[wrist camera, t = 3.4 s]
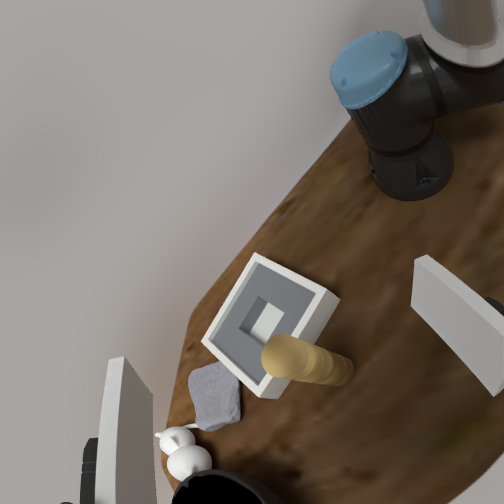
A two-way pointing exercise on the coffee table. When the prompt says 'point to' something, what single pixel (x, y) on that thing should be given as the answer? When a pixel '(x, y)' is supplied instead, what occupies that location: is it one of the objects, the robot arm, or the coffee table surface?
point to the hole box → (266, 320)
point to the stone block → (215, 396)
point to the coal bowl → (223, 489)
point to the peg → (305, 362)
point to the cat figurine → (183, 452)
